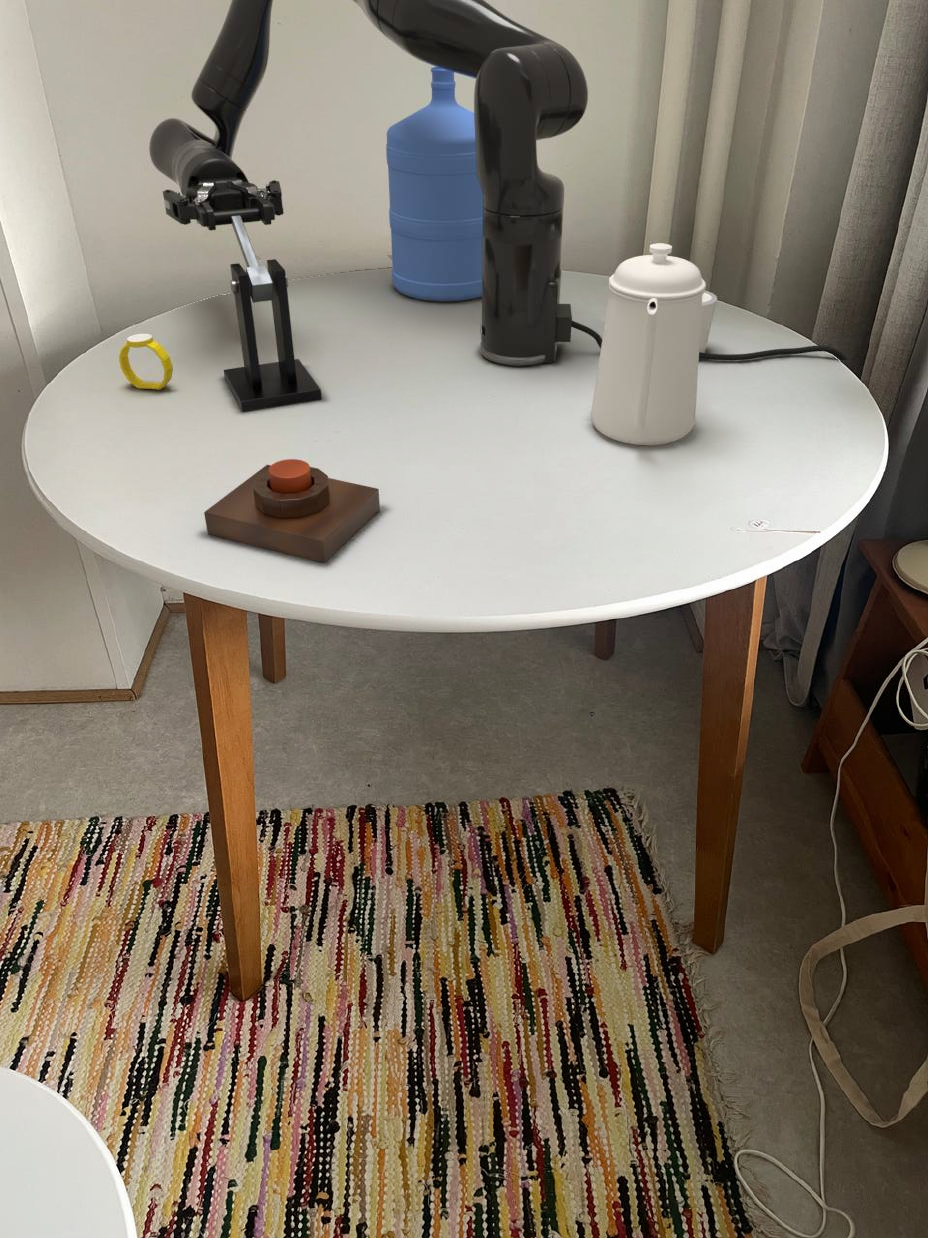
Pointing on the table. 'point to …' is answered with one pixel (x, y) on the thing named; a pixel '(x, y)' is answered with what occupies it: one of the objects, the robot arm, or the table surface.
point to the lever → (248, 251)
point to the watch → (148, 341)
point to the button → (290, 476)
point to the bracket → (288, 375)
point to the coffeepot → (650, 350)
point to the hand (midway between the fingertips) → (240, 217)
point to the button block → (294, 515)
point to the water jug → (435, 199)
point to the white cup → (706, 318)
